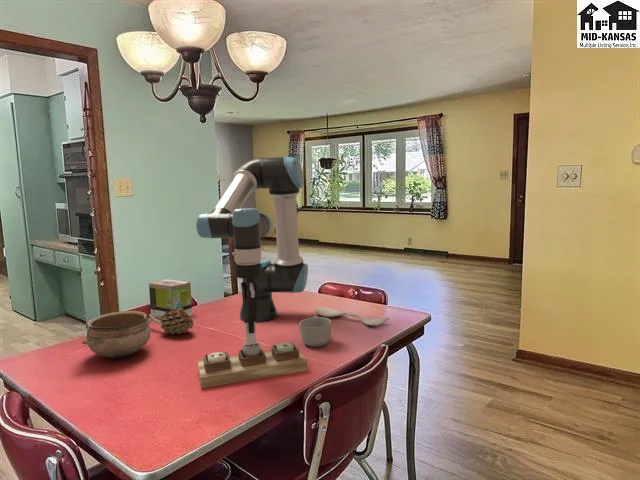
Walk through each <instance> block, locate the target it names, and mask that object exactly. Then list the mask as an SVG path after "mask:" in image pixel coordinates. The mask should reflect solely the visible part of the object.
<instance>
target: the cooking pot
mask: <svg viewBox="0 0 640 480" xmlns="http://www.w3.org/2000/svg"><path fill="white" fill-rule="evenodd" d="M151 322H152V320H151V319H150V318H149V317H148V314H147V313H146V312H142V311H137V310H125V311H115V312H110V313H106V314H102V315H99V316H95V317H93V318H91V319H90V320H88V322H87V325H88V330H87V334H86V340H82V342H81V343H82V344H83V345H87V347H88V348H89V349H90V351H91V352H92V353H94V354H95V355H98V356H102V357H105V358H108V359H112V360H121V359H125V358H129V357H130V356H132V355H134V354H135V353H136V352H138V351H139V350H141V349H142V348H143V347H145V345H146V344H147V343H148V342H149V340H150V337H151V334H152V331H151V327H150V323H151Z"/></svg>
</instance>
